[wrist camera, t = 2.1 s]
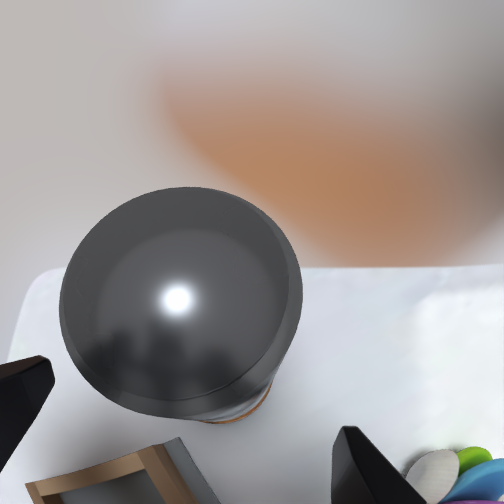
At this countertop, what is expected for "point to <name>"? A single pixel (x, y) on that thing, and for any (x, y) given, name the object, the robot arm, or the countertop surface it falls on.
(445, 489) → the multicolored petal flower
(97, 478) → the picture frame
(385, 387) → the countertop surface
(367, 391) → the countertop surface
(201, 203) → the grey metal cylinder
